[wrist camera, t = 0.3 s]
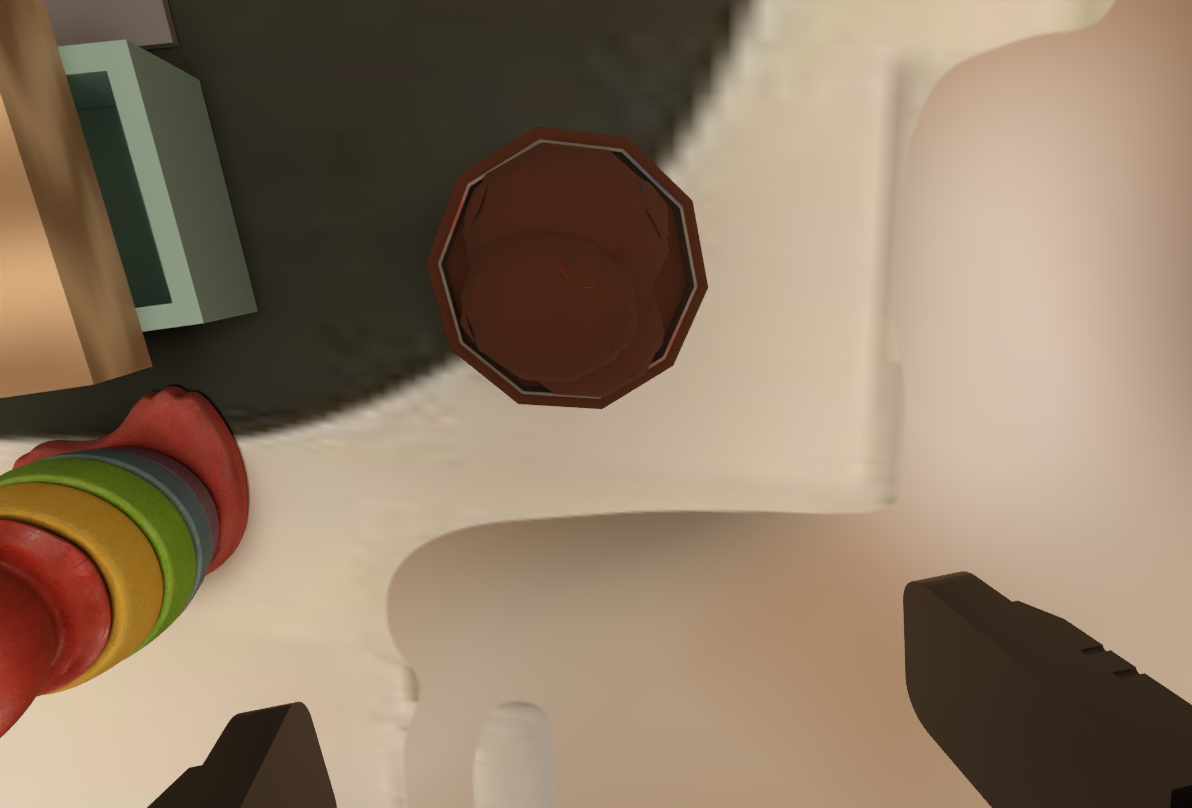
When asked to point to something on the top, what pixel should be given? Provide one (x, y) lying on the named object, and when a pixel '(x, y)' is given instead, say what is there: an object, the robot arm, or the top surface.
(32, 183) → the wooden block
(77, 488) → the stacking bear
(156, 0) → the mat
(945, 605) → the robot arm
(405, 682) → the top surface
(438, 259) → the ice cream bowl
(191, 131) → the dish
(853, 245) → the top surface
